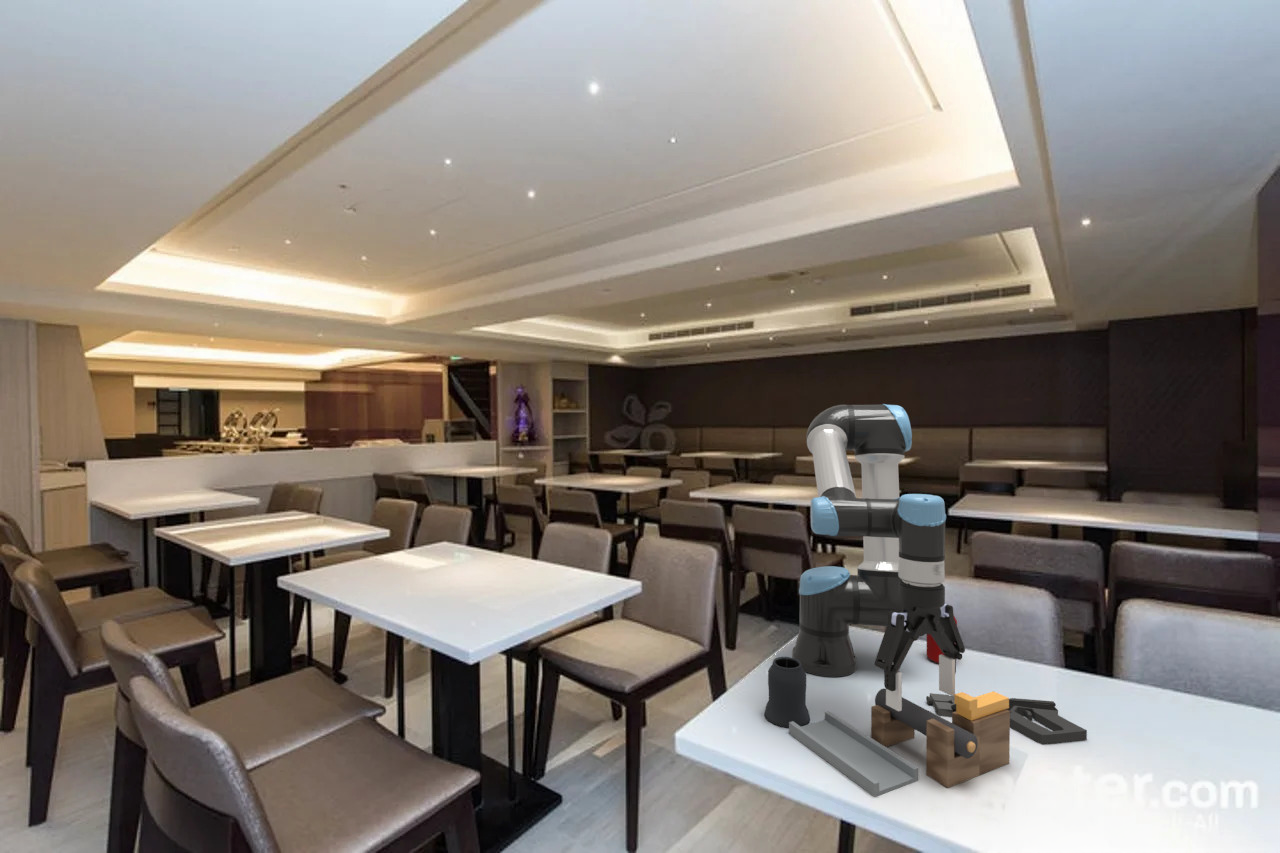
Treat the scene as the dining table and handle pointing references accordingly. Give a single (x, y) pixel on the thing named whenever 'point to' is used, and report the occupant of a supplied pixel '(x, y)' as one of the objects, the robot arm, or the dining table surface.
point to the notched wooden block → (988, 754)
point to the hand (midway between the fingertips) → (921, 700)
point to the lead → (918, 720)
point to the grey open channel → (856, 754)
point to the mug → (787, 693)
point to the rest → (888, 728)
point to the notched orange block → (980, 704)
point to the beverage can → (934, 648)
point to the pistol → (1031, 709)
